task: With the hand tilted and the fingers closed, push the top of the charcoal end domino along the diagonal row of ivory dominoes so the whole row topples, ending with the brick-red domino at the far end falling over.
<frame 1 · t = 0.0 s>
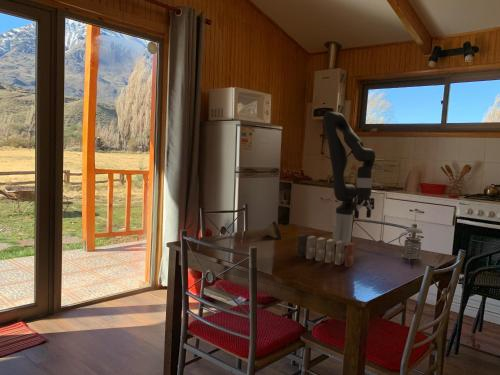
hand: (362, 217, 208), 17 cm above the table, tool pointing down, fingers open, 8 cm apart
domino 4: (329, 261, 184), on the table
rock: (274, 237, 228), on the table
domino 2: (310, 257, 189), on the table
domino 6: (348, 265, 180), on the table
domino 3: (319, 259, 186), on the table
domino 5: (338, 263, 182), on the table
domino 1: (301, 255, 191), on the table
french press: (409, 257, 202), on the table
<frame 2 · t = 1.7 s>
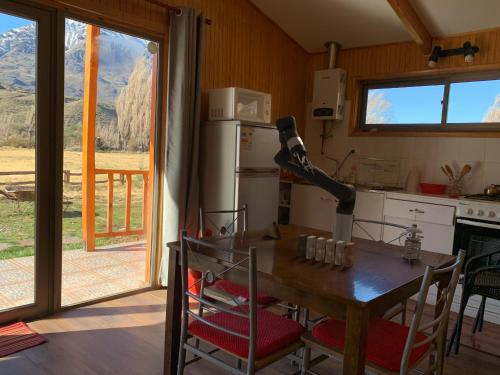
hand: (308, 174, 193), 39 cm above the table, tool tilted 40°, fingers open, 8 cm apart
nothing on the table moved.
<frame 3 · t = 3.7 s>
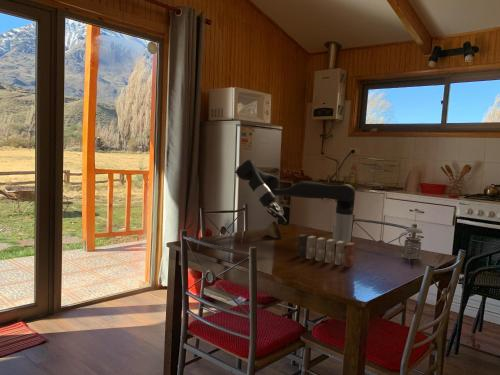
hand: (285, 223, 194), 14 cm above the table, tool tilted 45°, fingers closed
nothing on the table moved.
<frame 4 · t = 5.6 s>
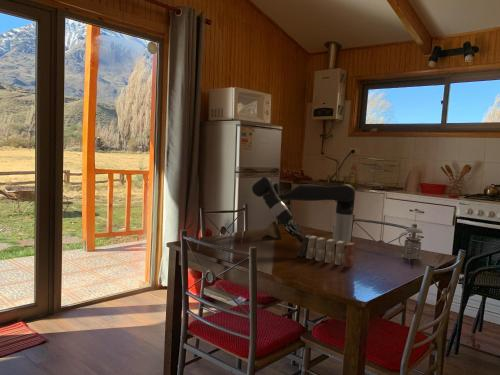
hand: (303, 241, 190), 7 cm above the table, tool tilted 45°, fingers closed
domino 1: (301, 255, 191), on the table, tilted 17°, touching gripper
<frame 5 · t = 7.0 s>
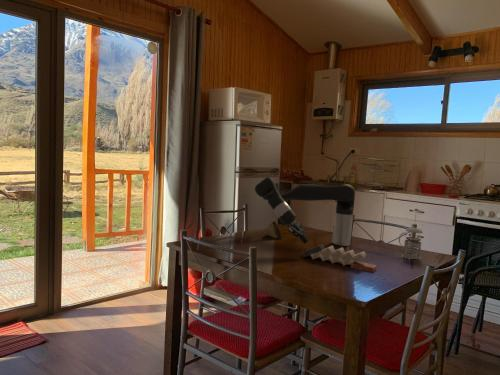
hand: (306, 242, 189), 7 cm above the table, tool tilted 45°, fingers closed
domino 4: (332, 260, 183), point 1 cm above the table, tilted 60°, touching domino 3
domino 2: (313, 256, 188), point 1 cm above the table, tilted 59°, touching domino 1, domino 3
domino 6: (352, 264, 179), point 1 cm above the table, tilted 90°, touching domino 5
domino 3: (323, 258, 185), point 1 cm above the table, tilted 59°, touching domino 2, domino 4
domino 5: (343, 262, 181), point 1 cm above the table, tilted 59°, touching domino 6
domino 1: (304, 254, 190), point 1 cm above the table, tilted 59°, touching domino 2
everything else where it was.
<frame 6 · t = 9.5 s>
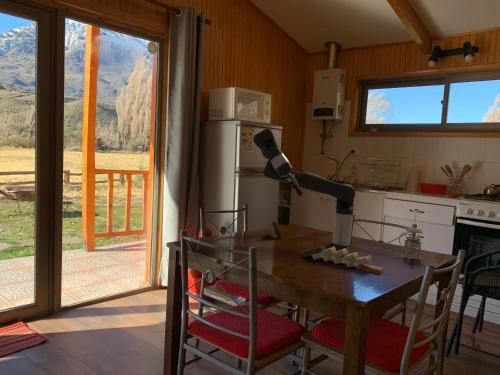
hand: (301, 195, 190), 29 cm above the table, tool tilted 40°, fingers closed
domino 4: (335, 260, 183), point 1 cm above the table, tilted 66°, touching domino 5
domino 2: (314, 256, 187), point 1 cm above the table, tilted 61°, touching domino 3
domino 6: (358, 266, 177), point 1 cm above the table, tilted 90°, touching domino 5
domino 3: (325, 258, 185), point 1 cm above the table, tilted 61°, touching domino 2
domino 5: (348, 263, 179), point 1 cm above the table, tilted 66°, touching domino 4, domino 6
domino 1: (304, 254, 190), point 1 cm above the table, tilted 61°
everything else where it was.
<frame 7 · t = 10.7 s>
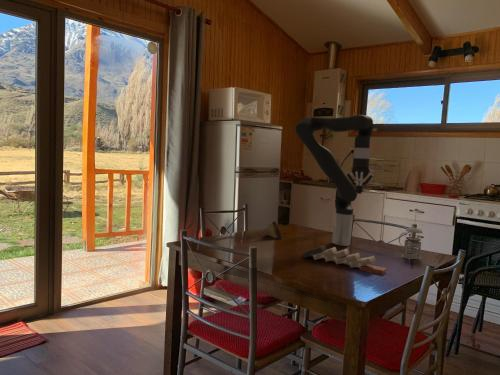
hand: (359, 193, 193), 31 cm above the table, tool pointing down, fingers closed
domino 4: (337, 260, 182), point 1 cm above the table, tilted 67°, touching domino 3
domino 2: (315, 256, 187), point 1 cm above the table, tilted 62°, touching domino 1, domino 3
domino 6: (361, 267, 176), point 1 cm above the table, tilted 90°, touching domino 5
domino 3: (326, 258, 185), point 1 cm above the table, tilted 62°, touching domino 2, domino 4
domino 5: (351, 263, 178), point 1 cm above the table, tilted 67°, touching domino 6
domino 1: (305, 254, 190), point 1 cm above the table, tilted 62°, touching domino 2
everything else where it was.
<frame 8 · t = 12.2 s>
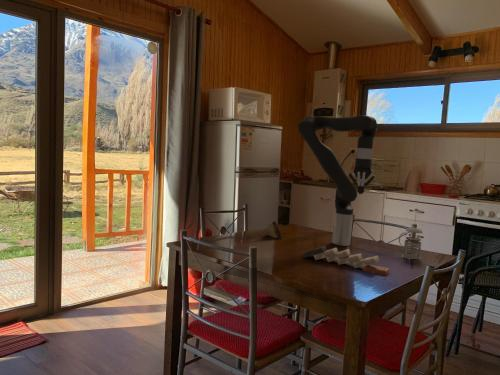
hand: (360, 193, 193), 31 cm above the table, tool pointing down, fingers closed
domino 6: (364, 267, 175), point 1 cm above the table, tilted 90°, touching domino 5
domino 3: (328, 258, 184), point 1 cm above the table, tilted 62°, touching domino 2, domino 4
domino 5: (355, 264, 177), point 1 cm above the table, tilted 66°, touching domino 6
at the end: domino 6 tilted 90°; domino 1 tilted 63°; domino 6 touching table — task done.
